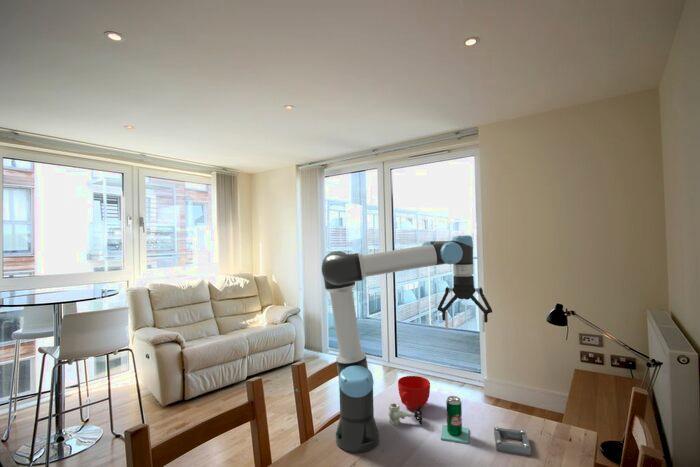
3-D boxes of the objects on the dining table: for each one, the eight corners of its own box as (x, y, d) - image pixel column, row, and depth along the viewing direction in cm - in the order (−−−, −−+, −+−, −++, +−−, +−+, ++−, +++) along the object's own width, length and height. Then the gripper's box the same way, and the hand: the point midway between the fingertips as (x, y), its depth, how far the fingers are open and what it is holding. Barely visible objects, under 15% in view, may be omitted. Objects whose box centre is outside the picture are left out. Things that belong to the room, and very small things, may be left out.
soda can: (452, 438, 122) (451, 402, 122) (444, 430, 127) (443, 396, 127) (465, 435, 124) (464, 400, 124) (456, 427, 128) (456, 394, 128)
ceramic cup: (387, 412, 142) (387, 387, 142) (407, 396, 155) (406, 373, 155) (418, 422, 134) (417, 395, 134) (435, 404, 148) (435, 379, 148)
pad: (440, 439, 122) (440, 438, 122) (442, 426, 131) (442, 424, 131) (468, 443, 120) (468, 442, 120) (468, 429, 128) (468, 428, 128)
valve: (389, 427, 131) (422, 428, 130) (388, 409, 131) (422, 410, 130) (388, 418, 138) (420, 418, 137) (388, 401, 138) (419, 401, 137)
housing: (496, 450, 115) (496, 441, 115) (494, 434, 125) (493, 425, 125) (530, 455, 112) (530, 446, 112) (525, 438, 122) (525, 429, 122)
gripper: (429, 275, 140) (431, 330, 139) (498, 276, 132) (500, 334, 132) (431, 273, 147) (432, 325, 147) (497, 274, 139) (498, 329, 139)
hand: (464, 329), depth 139 cm, fingers open, 13 cm apart
